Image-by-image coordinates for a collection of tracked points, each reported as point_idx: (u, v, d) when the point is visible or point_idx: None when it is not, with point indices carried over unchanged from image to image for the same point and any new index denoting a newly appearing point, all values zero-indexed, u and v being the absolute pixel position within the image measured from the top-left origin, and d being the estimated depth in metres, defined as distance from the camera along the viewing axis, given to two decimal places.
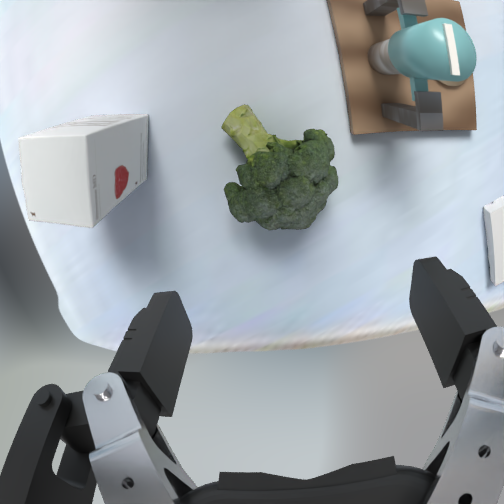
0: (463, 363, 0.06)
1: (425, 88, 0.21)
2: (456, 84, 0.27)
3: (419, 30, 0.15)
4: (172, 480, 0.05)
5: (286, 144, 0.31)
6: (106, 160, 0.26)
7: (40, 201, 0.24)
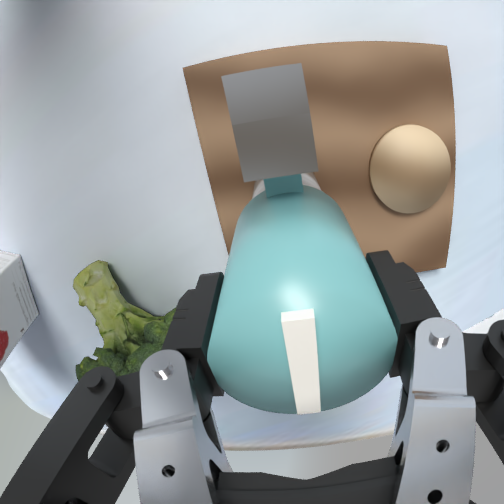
0: (404, 352, 0.07)
1: None
2: (419, 209, 0.20)
3: (215, 321, 0.08)
4: (213, 471, 0.05)
5: (135, 327, 0.23)
6: None
7: None
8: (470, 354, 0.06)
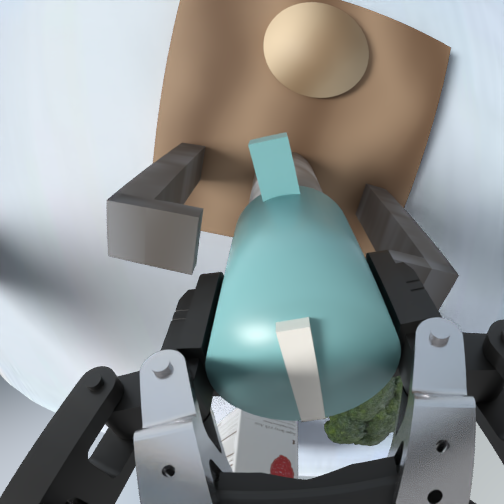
0: (404, 353, 0.07)
1: None
2: (366, 54, 0.15)
3: (211, 332, 0.08)
4: (213, 470, 0.05)
5: None
6: None
7: None
8: (470, 354, 0.06)
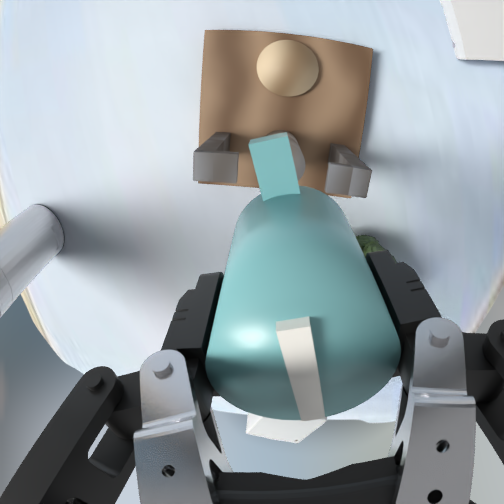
0: (404, 353, 0.07)
1: None
2: (316, 66, 0.27)
3: (211, 332, 0.08)
4: (213, 471, 0.05)
5: None
6: None
7: (292, 435, 0.40)
8: (470, 354, 0.06)
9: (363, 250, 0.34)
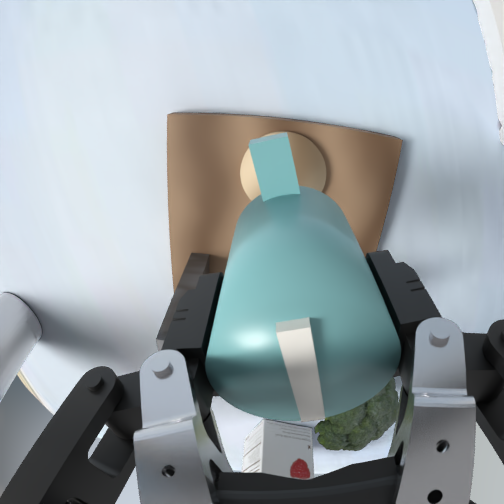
0: (404, 353, 0.07)
1: None
2: (323, 171, 0.22)
3: (211, 332, 0.08)
4: (213, 470, 0.05)
5: None
6: None
7: None
8: (470, 354, 0.06)
9: None
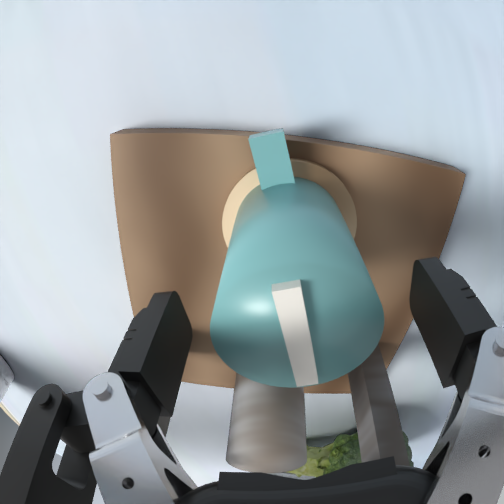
0: (463, 363, 0.06)
1: None
2: (353, 223, 0.14)
3: None
4: (172, 480, 0.05)
5: None
6: None
7: None
8: None
9: None
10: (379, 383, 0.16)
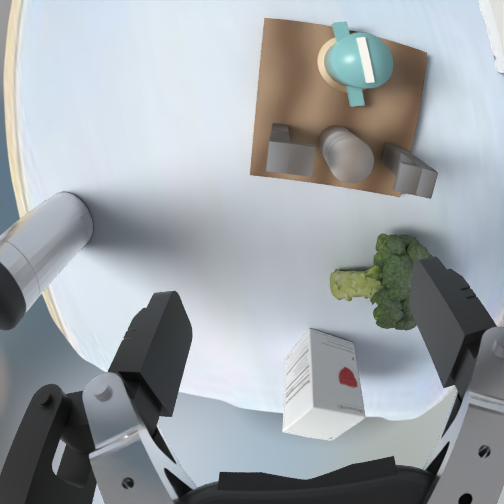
0: (463, 363, 0.06)
1: (359, 94, 0.27)
2: None
3: (336, 47, 0.21)
4: (172, 480, 0.05)
5: (376, 271, 0.35)
6: (332, 391, 0.38)
7: (328, 433, 0.39)
8: None
9: (407, 250, 0.32)
10: (402, 150, 0.28)
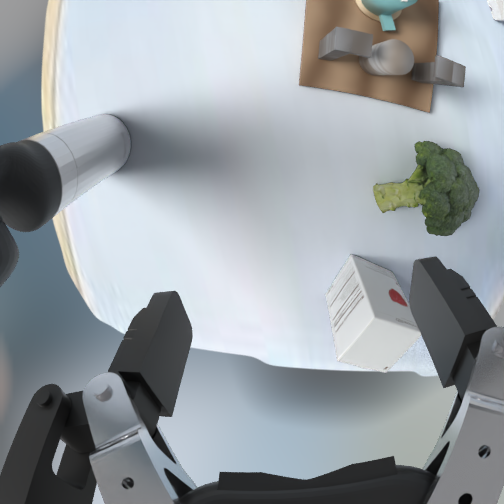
0: (463, 363, 0.06)
1: (391, 21, 0.27)
2: None
3: None
4: (172, 480, 0.05)
5: (417, 176, 0.35)
6: (387, 306, 0.37)
7: (384, 360, 0.38)
8: None
9: (443, 153, 0.32)
10: None
